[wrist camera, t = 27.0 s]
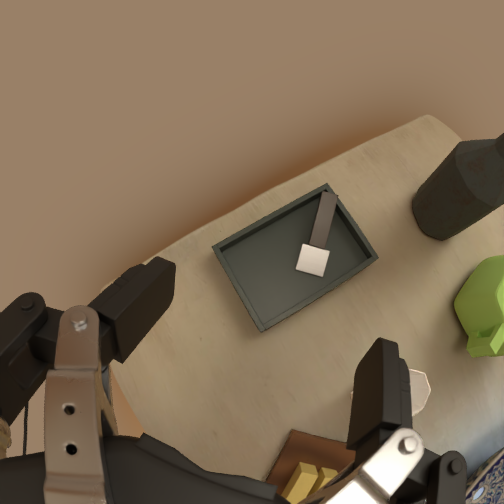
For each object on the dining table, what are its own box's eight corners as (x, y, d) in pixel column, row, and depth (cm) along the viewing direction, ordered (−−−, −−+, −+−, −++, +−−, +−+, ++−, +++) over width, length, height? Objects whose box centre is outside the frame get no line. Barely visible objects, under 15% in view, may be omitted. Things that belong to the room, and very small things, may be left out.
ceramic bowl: (519, 499, 22) (540, 509, 13) (404, 570, 22) (418, 593, 13) (535, 390, 32) (565, 392, 22) (409, 472, 32) (435, 496, 22)
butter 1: (290, 507, 31) (291, 519, 28) (275, 504, 31) (275, 515, 28) (315, 465, 33) (318, 475, 30) (299, 461, 33) (301, 471, 30)
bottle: (445, 253, 41) (576, 170, 12) (402, 217, 43) (513, 97, 14) (462, 209, 43) (567, 118, 14) (423, 177, 45) (512, 61, 16)
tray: (261, 332, 40) (260, 332, 37) (214, 251, 43) (211, 246, 41) (373, 262, 41) (379, 257, 39) (324, 190, 45) (327, 182, 42)
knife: (321, 276, 41) (342, 199, 41) (323, 277, 40) (343, 196, 40) (295, 269, 42) (316, 191, 42) (295, 269, 40) (317, 189, 40)
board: (314, 527, 30) (315, 531, 29) (247, 513, 32) (246, 516, 31) (364, 446, 34) (366, 449, 33) (291, 428, 36) (292, 431, 35)
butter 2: (311, 511, 30) (313, 522, 27) (296, 508, 31) (298, 520, 27) (336, 469, 32) (341, 479, 29) (321, 466, 33) (325, 477, 29)
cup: (404, 402, 35) (429, 414, 28) (343, 413, 36) (359, 430, 28) (405, 359, 37) (432, 363, 29) (344, 367, 38) (361, 375, 30)
